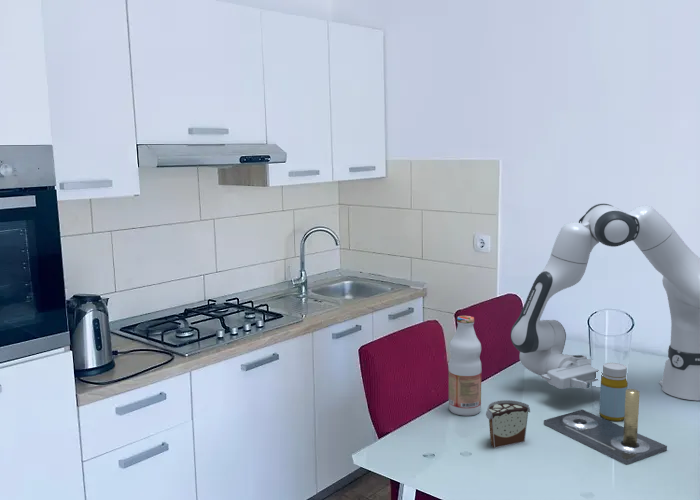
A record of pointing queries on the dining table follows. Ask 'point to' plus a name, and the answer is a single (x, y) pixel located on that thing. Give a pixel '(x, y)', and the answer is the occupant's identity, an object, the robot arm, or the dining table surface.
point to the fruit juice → (465, 369)
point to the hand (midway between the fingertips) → (599, 382)
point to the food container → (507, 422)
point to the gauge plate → (609, 432)
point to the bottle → (613, 391)
